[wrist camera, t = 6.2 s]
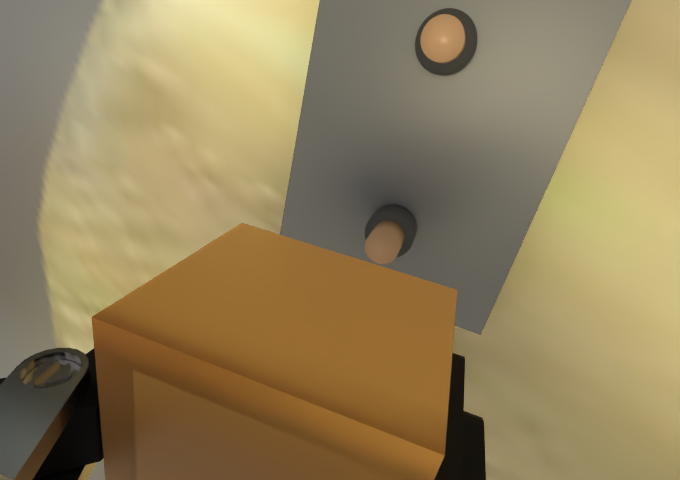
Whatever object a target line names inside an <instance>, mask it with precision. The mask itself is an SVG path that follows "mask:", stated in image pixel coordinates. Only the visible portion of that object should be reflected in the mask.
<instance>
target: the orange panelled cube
mask: <svg viewBox="0 0 680 480" xmlns="http://www.w3.org/2000/svg"><path fill="white" fill-rule="evenodd" d="M456 299H457V290H456V289H453V288H450V287H447V286H443V285H440V284H437V283H434V282H431V281H427V280H424V279H421V278H418V277H414V276H411V275H408V274H405V273H402V272H398V271H395V270H392V269H389V268H386V267H382V266H379V265H376V264H373V263H369V262H366V261H363V260H360V259H357V258H353V257H350V256H347V255H344V254H340V253H337V252H334V251H331V250H328V249H324V248H321V247H318V246H315V245H312V244H308V243H305V242H302V241H299V240H295V239H292V238H289V237H286V236H283V235H279V234H276V233H273V232H270V231H266V230H263V229H260V228H257V227H254V226H250V225H247V224H244V223H241V224H240V225H238V226H236V227H235V228H233V229H232V230H230V231H228V232H227V233H225V234H224V235H222V236H220V237H219V238H217V239H216V240H214V241H212V242H211V243H209V244H208V245H206V246H204V247H203V248H201V249H200V250H198V251H196V252H195V253H193V254H192V255H190V256H188V257H187V258H185V259H184V260H182V261H181V262H179V263H177V264H176V265H174V266H173V267H171V268H169V269H168V270H166V271H165V272H163V273H161V274H160V275H158V276H157V277H155V278H153V279H152V280H150V281H149V282H147V283H145V284H144V285H142V286H141V287H139V288H137V289H136V290H134V291H133V292H131V293H129V294H128V295H126V296H125V297H123V298H122V299H120V300H118V301H117V302H115V303H114V304H112V305H110V306H109V307H107V308H106V309H104V310H102V311H101V312H99V313H98V314H96V315H94V316H93V317H92V326H93V338H94V350H95V361H96V373H97V385H98V397H99V409H100V421H101V432H102V444H103V456H104V468H105V479H106V480H434V479H435V477H436V475H437V472H438V470H439V468H440V465H441V463H442V461H443V458H444V456H445V445H446V432H447V418H448V405H449V392H450V378H451V365H452V352H453V339H454V325H455V312H456Z"/></svg>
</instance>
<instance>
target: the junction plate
mask: <svg viewBox="0 0 680 480" xmlns="http://www.w3.org/2000/svg"><path fill="white" fill-rule="evenodd" d="M630 3H631V0H320V2H319V8H318V14H317V20H316V26H315V32H314V37H313V43H312V49H311V55H310V61H309V67H308V73H307V79H306V85H305V90H304V96H303V102H302V108H301V114H300V120H299V126H298V132H297V138H296V143H295V149H294V155H293V161H292V167H291V173H290V179H289V185H288V191H287V196H286V202H285V208H284V214H283V220H282V226H281V232H280V235H283V236H286V237H289V238H292V239H295V240H299V241H302V242H305V243H308V244H312V245H315V246H318V247H321V248H324V249H328V250H331V251H334V252H337V253H340V254H344V255H347V256H350V257H353V258H357V259H360V260H363V261H366V262H369V263H373V264H376V265H379V266H382V267H386V268H389V269H392V270H395V271H398V272H402V273H405V274H408V275H411V276H414V277H418V278H421V279H424V280H427V281H431V282H434V283H437V284H440V285H443V286H447V287H450V288H453V289H456V290H457V299H456V312H455V326H458V327H460V328H463V329H466V330H469V331H472V332H474V333H477V334H480V335H481V333H482V330H483V328H484V326H485V324H486V321H487V319H488V317H489V315H490V313H491V310H492V308H493V306H494V304H495V302H496V299H497V297H498V295H499V293H500V290H501V288H502V286H503V284H504V282H505V279H506V277H507V275H508V273H509V271H510V268H511V266H512V264H513V262H514V259H515V257H516V255H517V253H518V251H519V248H520V246H521V244H522V242H523V240H524V237H525V235H526V233H527V231H528V228H529V226H530V224H531V222H532V220H533V217H534V215H535V213H536V211H537V209H538V206H539V204H540V202H541V200H542V197H543V195H544V193H545V191H546V189H547V186H548V184H549V182H550V180H551V178H552V175H553V173H554V171H555V169H556V166H557V164H558V162H559V160H560V158H561V155H562V153H563V151H564V149H565V147H566V144H567V142H568V140H569V138H570V135H571V133H572V131H573V129H574V127H575V124H576V122H577V120H578V118H579V116H580V113H581V111H582V109H583V107H584V104H585V102H586V100H587V98H588V96H589V93H590V91H591V89H592V87H593V85H594V82H595V80H596V78H597V76H598V74H599V71H600V69H601V67H602V65H603V62H604V60H605V58H606V56H607V54H608V51H609V49H610V47H611V45H612V43H613V40H614V38H615V36H616V34H617V31H618V29H619V27H620V25H621V23H622V20H623V18H624V16H625V14H626V12H627V9H628V7H629V5H630Z"/></svg>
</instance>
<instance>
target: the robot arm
mask: <svg viewBox="0 0 680 480" xmlns="http://www.w3.org/2000/svg"><path fill="white" fill-rule="evenodd" d="M464 372H465V358H464V357H463V356H460V355H457V354H454V353H452V365H451V378H450V392H449V405H448V418H447V432H446V445H445V456H444V458H443V461H442V463H441V465H440V468H439V470H438V472H437V475H436V477H435V479H434V480H486V472H485V440H484V421H483V419H482V418H481V417H478V416H476V415H473V414H470V413H468V412H465V411H463V407H464ZM103 458H104V456H103V444H102V432H101V421H100V409H99V397H98V385H97V373H96V361H95V350H94V349H92V350H91V351H90V352H88V353H87V354H85V353H83V352H81V351H79V350H77V349H72V348H54V349H49V350H45V351H42V352H39V353H36V354H34V355H32V356H30V357H28V358H27V359H25V360H24V361H22V362H21V363H20V364H19V365H18V366H17V367H16V368H15V369H14V370H13V371H12V372H11V373H10V375H9V376H8V377H7V378H2V379H0V480H88V478H89V476H90V474H91V472H92V470H93V468H94V466H95V464H96V462H99V461H101V460H102V459H103Z"/></svg>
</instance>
